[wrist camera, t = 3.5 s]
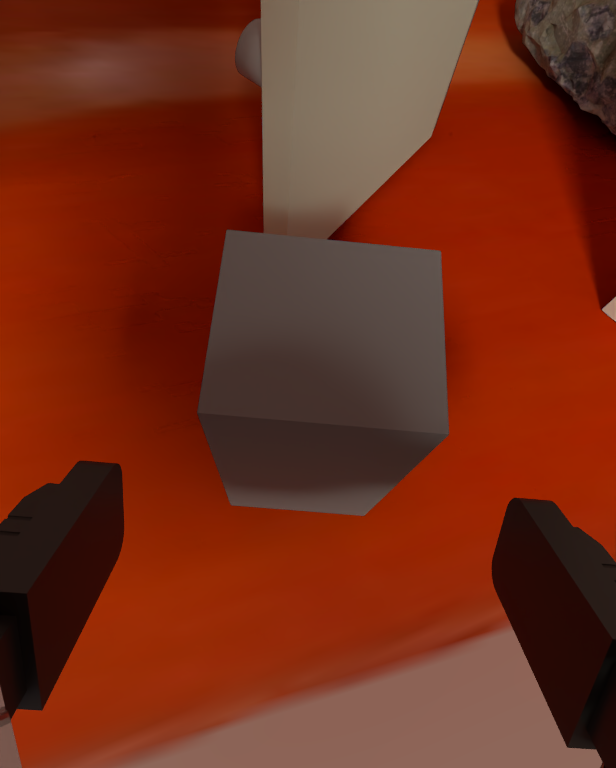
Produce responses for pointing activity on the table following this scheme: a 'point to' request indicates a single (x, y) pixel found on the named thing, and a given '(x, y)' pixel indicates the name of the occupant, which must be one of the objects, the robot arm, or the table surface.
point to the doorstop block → (323, 370)
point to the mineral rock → (575, 49)
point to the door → (345, 98)
